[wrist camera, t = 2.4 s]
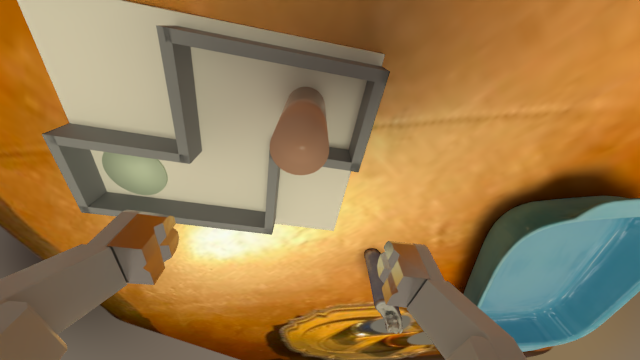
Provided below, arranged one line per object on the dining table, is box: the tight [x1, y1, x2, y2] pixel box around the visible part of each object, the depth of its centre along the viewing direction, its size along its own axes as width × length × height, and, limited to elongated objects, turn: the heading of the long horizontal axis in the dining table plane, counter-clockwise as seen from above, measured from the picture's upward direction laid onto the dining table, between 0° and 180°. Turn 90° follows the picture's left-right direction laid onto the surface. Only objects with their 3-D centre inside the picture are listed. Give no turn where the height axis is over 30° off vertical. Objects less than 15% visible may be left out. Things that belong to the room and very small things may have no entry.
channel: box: [17, 0, 390, 234], centre depth 25 cm, size 31×23×4 cm
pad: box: [102, 152, 168, 195], centre depth 28 cm, size 7×7×1 cm
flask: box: [365, 249, 403, 334], centre depth 36 cm, size 9×3×11 cm, turn 23°
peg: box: [270, 87, 329, 175], centre depth 20 cm, size 4×4×10 cm
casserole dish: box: [463, 196, 640, 352], centre depth 37 cm, size 37×22×7 cm, turn 6°
